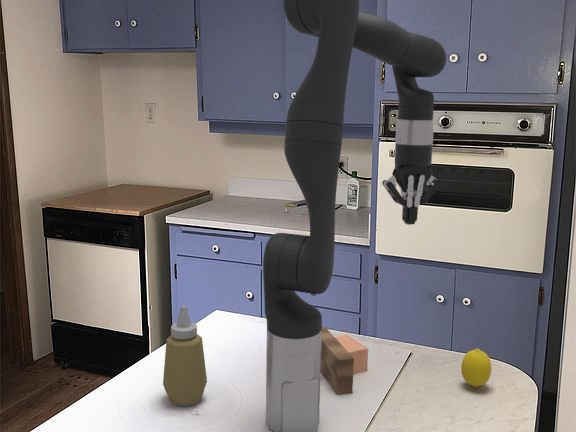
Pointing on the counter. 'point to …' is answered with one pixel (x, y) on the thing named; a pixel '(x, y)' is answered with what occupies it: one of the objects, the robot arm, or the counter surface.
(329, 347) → the walnut plank
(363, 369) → the terracotta block
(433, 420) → the counter surface
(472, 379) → the lemon
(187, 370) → the squeeze bottle
